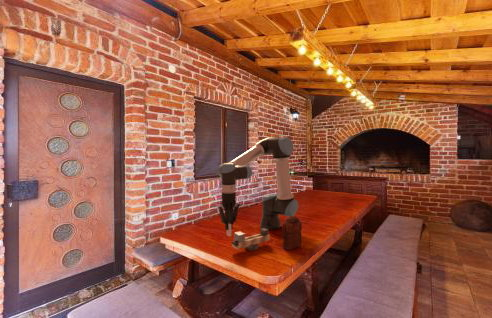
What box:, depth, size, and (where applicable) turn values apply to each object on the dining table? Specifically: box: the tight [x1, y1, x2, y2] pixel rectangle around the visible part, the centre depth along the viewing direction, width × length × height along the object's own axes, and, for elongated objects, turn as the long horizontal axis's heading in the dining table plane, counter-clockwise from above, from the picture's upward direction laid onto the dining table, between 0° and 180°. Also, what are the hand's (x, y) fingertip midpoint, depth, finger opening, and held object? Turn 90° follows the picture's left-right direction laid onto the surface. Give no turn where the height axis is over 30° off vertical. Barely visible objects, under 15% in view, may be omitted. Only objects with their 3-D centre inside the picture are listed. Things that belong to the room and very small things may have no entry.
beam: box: [231, 228, 271, 252], centre depth 145 cm, size 23×6×9 cm, turn 124°
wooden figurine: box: [281, 215, 303, 250], centre depth 146 cm, size 12×6×18 cm, turn 123°
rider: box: [233, 230, 246, 242], centre depth 140 cm, size 4×5×5 cm
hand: (228, 235), depth 136 cm, fingers closed
